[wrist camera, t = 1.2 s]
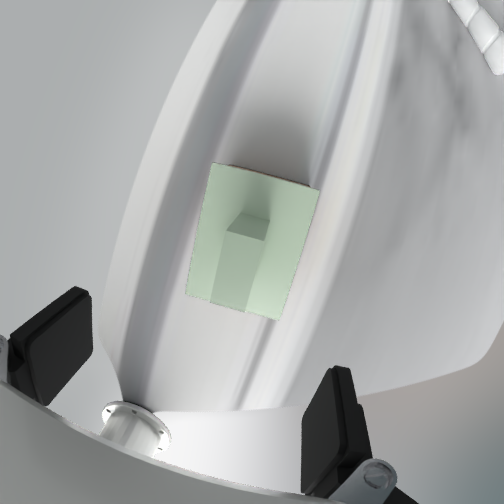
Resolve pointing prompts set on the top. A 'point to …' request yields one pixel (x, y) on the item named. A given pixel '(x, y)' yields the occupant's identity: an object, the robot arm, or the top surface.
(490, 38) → the unicorn horn
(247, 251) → the mint green stepped block
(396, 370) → the top surface
